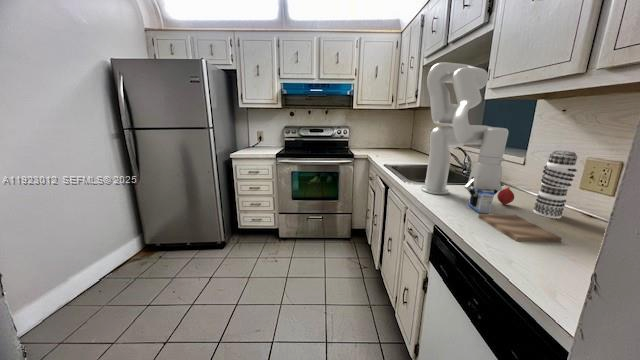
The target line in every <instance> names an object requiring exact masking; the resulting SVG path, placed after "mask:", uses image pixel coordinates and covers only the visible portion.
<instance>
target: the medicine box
mask: <svg viewBox="0 0 640 360" xmlns="http://www.w3.org/2000/svg"><path fill="white" fill-rule="evenodd" d="M472 188H473V187H471V189H472ZM494 196H495V195H494V192H492V191H490V190H480V191H479V193H478V195H477V197H478V200H477V204H476V206H473V205H471V204H470V198H471V194H470V195H469V200H468V202H467V203H468V204H467V205H468V207H470V208H471V209H473V210H474V211H475V212H477V213H478V214H491V209H492V206H493V201H494Z"/></svg>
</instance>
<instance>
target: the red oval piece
mask: <svg viewBox="0 0 640 360" xmlns="http://www.w3.org/2000/svg"><path fill="white" fill-rule="evenodd" d="M514 199H515V193H514V192H513V191H512V190H511V187H509V186H507V187H505V188H502V190H500V191H499V192H497V200H498V202H500V203H501V204H502V205H503V206H507V205H508V204H510V203H512V202H513V201H514Z"/></svg>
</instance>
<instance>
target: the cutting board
mask: <svg viewBox="0 0 640 360" xmlns="http://www.w3.org/2000/svg"><path fill="white" fill-rule="evenodd" d="M478 218H479V220H481V221H482V222H483V221H484V222H485V223H486V224H488V225H489V226H491V227H493V228H494V229H496V230H497V231H499V232H501V233H502V234H504V235H505V236H507V237H508V238H509V239H511V240H513V241H515V242H520V243H521V242H524V243H525V242H527V243H528V242H529V243H541V242H542V243H561V242H562V239H563V237H561V236H559V235H557V234H556V233H553V232H551V231H549V230H547V229H546V228H543V227H541V226H539V225H537V224H535V223H533V222H531V221H529V220H527V219H526V218H523V217H522V216H519V215H517V214H509V213H508V214H507V213H505V214H504V213H503V214H499V213H497V214H496V213H495V214H493V213H478Z"/></svg>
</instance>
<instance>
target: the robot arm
mask: <svg viewBox="0 0 640 360" xmlns="http://www.w3.org/2000/svg"><path fill="white" fill-rule="evenodd" d="M427 74H428V75H427V78H426V85H427V90H428V94H429V100H430V101H429V102H430V113H431V120H432V122H433V123H434V124H436V125H442V126H437V127H435V128H433V129H432V130H431V132H430V133H429V155H428V161H427V169H426V177H425V180H424V182H425V184H424V185H421V186H420V187H421V189H420V190H421V191H422V192H425V193H428V194H433V195H439V196H440V195H448V194H449V193H450V191H449V189H447V183H448V177H449V172H450V165H451V160H452V159H451V158H452V154H451V151H450V147H453V148H457V147H463V146H465V145H480V149H479V153H478V159H477V162H475V163H474V164H473V167H472V169H471V172H470V174H469V177H468V180H467V183H466V184H465V185H464V189H466V190H467V191H468V193H469V194H470V195H471V198H470V197H469V199H470V204H471V205H473V206H476V204H477V200H478V197H477V195H478V193H479V191H480V190H490V191H492V192H494V196H495V195H496V194H498V193H499V192H500V191H501V190H503V187H502V185H501V182H502V181H501V180H502V173H503V165H502V162H505V158H504V153H505V149H506V146H507V141H508V137H509V133H510V132H509V130H508V128H505V127H496V126H495V127H494V126H490V125H489V126H488V125H479V124H477V125H476V124H470V122H469V119H468V118H469V117H468V113H469V110H470V109H473V108H475V107H477V106H478V105H479V104H480V103H481V102H482V98H483V97H482V95H481V92H480V90H481V89H483V88H484V87H486V86H487V84H488V82H489V74H488V72H487V71H486V70H485V69H484V68H481V67H476V66H473V65H470V64H465V63H457V62H456V63H455V62H444V61H443V62H438V63H436V64H434V65H432V66H431V68H430V69H429V71H428V73H427ZM445 83H448V84H452V85H453V86H452V87H453V90H454V94H455V97H456V102H457V103H452V102H451V94H450V91H449V89H448V87H447V86H446V85H445ZM446 125H447V126H446ZM448 125H449V126H448ZM472 187H473V188H472Z"/></svg>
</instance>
